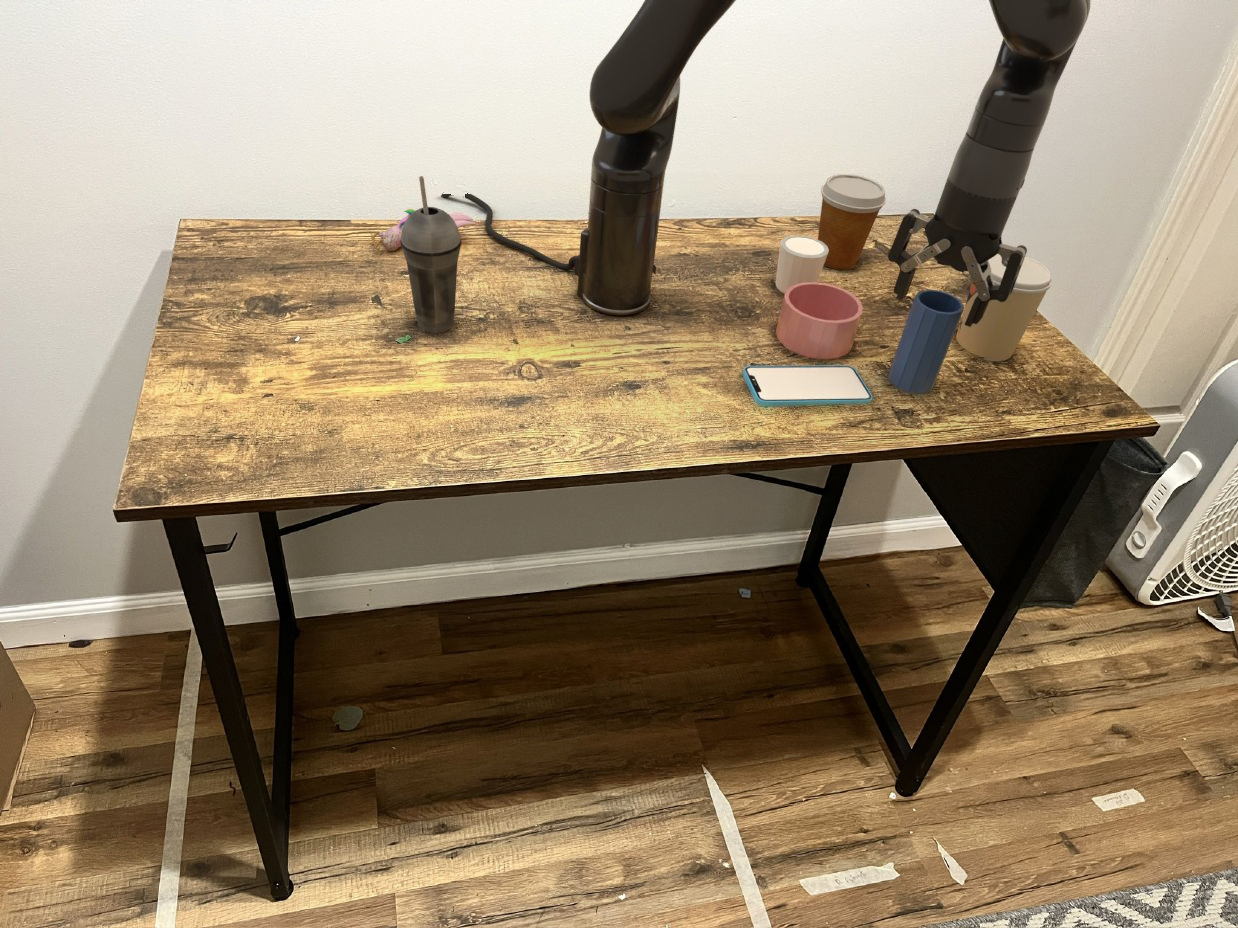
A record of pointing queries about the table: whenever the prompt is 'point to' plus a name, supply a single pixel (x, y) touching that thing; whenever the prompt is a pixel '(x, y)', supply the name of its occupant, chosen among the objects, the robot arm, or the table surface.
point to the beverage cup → (432, 264)
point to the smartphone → (806, 385)
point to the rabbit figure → (393, 234)
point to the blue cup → (925, 341)
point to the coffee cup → (1005, 312)
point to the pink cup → (818, 320)
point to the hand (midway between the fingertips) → (934, 310)
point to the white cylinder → (799, 261)
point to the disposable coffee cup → (848, 217)
